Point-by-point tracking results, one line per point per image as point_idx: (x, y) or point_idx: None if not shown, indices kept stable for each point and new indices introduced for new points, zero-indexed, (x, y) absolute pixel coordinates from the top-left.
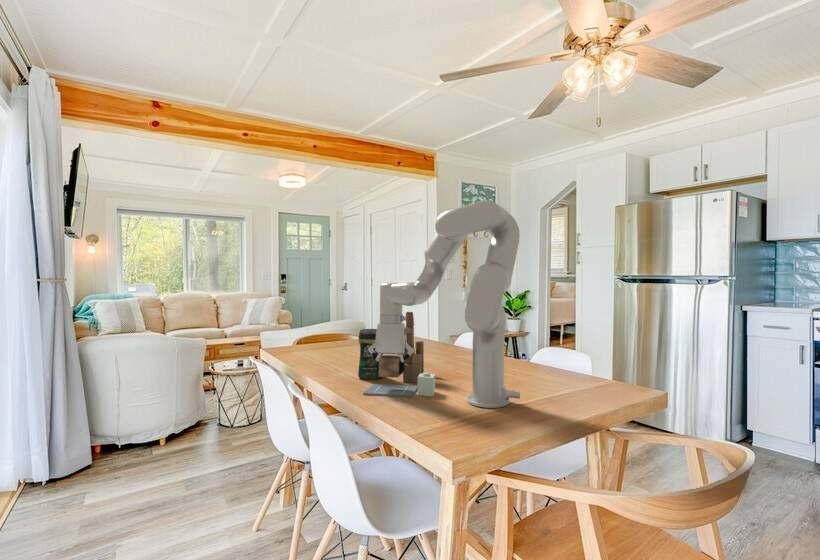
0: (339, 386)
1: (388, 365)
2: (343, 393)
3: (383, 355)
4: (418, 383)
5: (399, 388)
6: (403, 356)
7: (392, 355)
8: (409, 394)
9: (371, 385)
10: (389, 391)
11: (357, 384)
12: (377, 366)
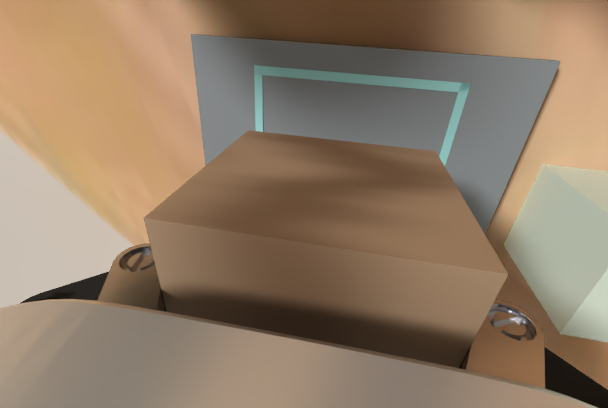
0: (25, 86)
1: None
2: (125, 213)
3: (168, 274)
4: (542, 297)
5: None
6: (514, 377)
7: (309, 273)
8: None
9: (197, 90)
10: None
11: (87, 18)
12: None
